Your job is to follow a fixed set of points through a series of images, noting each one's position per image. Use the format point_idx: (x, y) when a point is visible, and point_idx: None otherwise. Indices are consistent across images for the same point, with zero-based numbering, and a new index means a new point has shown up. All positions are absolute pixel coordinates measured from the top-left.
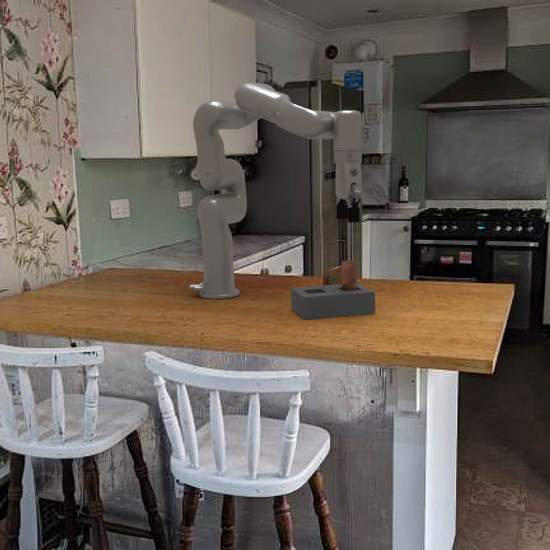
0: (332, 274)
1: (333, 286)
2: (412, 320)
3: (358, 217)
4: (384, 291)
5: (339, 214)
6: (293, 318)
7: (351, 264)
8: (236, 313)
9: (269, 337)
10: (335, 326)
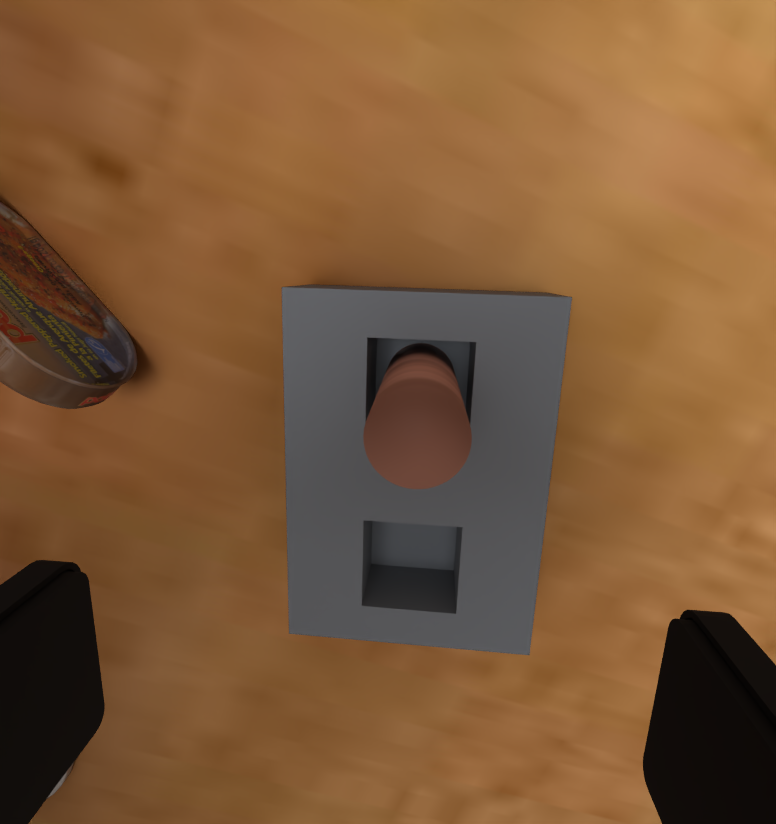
0: (42, 354)
1: (332, 447)
2: (755, 177)
3: (768, 684)
4: (73, 29)
5: (53, 757)
6: None
7: (471, 438)
8: (323, 759)
9: None
10: (677, 528)
